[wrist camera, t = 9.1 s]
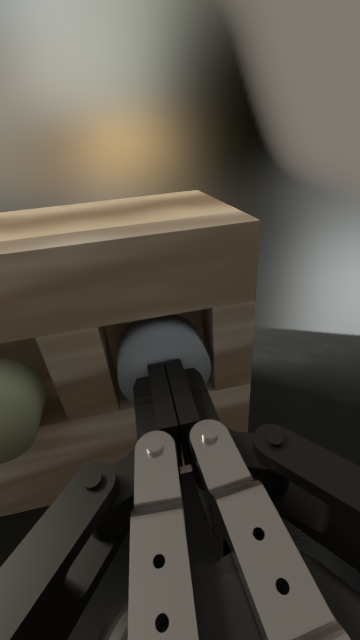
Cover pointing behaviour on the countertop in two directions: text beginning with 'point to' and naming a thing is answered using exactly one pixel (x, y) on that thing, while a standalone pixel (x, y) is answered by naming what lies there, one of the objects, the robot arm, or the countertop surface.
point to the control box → (118, 319)
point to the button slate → (158, 349)
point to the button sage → (19, 408)
